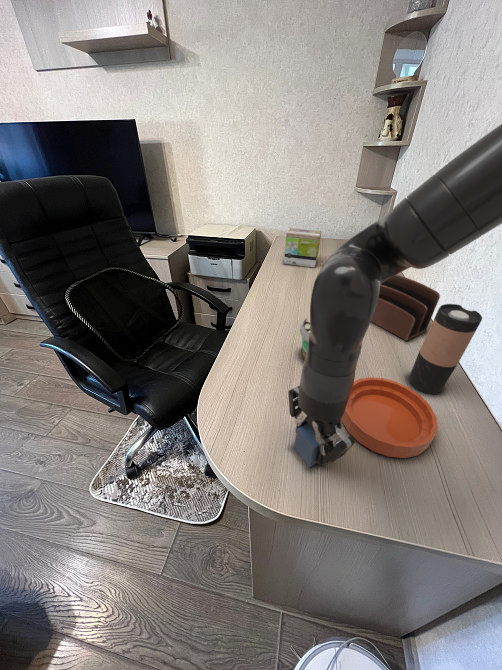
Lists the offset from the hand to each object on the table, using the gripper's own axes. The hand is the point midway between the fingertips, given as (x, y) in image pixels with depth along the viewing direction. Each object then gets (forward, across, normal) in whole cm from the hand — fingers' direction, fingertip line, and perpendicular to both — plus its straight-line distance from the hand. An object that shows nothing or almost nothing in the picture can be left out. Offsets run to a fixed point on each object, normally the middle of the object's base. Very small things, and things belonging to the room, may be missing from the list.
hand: (311, 448), depth 52 cm
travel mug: (+1, 0, -36) cm, 36 cm away
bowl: (+1, -2, -18) cm, 18 cm away
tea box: (+2, +80, -62) cm, 101 cm away
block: (+1, 0, 0) cm, 1 cm away
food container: (+2, +20, -18) cm, 27 cm away
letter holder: (+2, +23, -52) cm, 57 cm away
